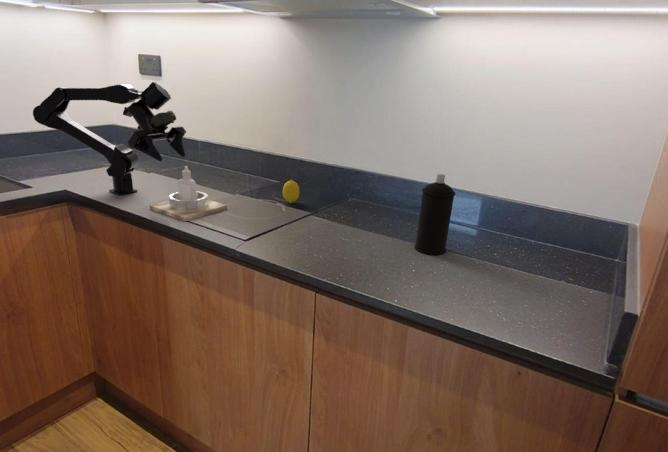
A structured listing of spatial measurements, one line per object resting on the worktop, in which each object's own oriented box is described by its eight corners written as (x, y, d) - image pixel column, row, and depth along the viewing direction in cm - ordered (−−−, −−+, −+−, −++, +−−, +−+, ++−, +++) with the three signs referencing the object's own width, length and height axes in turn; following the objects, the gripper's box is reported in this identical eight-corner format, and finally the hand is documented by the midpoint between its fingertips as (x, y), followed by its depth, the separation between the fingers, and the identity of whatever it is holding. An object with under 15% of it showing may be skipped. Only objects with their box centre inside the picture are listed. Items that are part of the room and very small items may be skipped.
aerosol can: (440, 258, 106) (452, 180, 100) (409, 250, 110) (419, 174, 104) (450, 248, 113) (462, 175, 106) (420, 240, 117) (431, 169, 110)
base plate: (149, 209, 128) (149, 205, 128) (193, 198, 141) (193, 195, 140) (184, 221, 120) (184, 217, 120) (227, 209, 133) (227, 205, 132)
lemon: (296, 206, 140) (297, 182, 137) (280, 204, 141) (280, 180, 138) (300, 201, 145) (301, 179, 142) (285, 200, 146) (285, 177, 143)
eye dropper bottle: (183, 208, 127) (181, 168, 123) (178, 203, 131) (176, 165, 127) (198, 206, 129) (196, 168, 125) (192, 201, 133) (190, 164, 129)
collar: (162, 205, 128) (161, 195, 127) (191, 198, 137) (191, 189, 136) (185, 213, 123) (185, 203, 122) (215, 205, 132) (215, 195, 131)
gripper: (130, 102, 122) (160, 146, 121) (180, 101, 138) (207, 139, 137) (115, 127, 128) (144, 169, 127) (164, 123, 144) (190, 160, 143)
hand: (173, 158), depth 134 cm, fingers open, 9 cm apart
